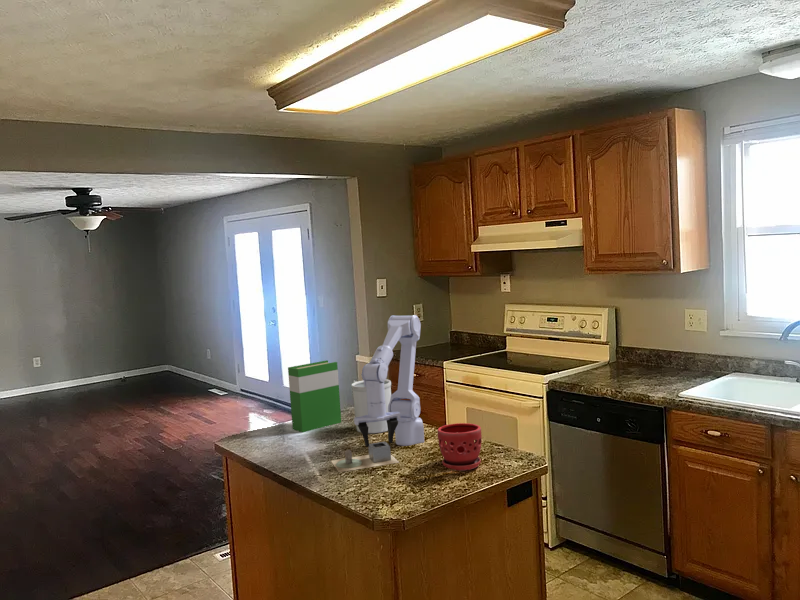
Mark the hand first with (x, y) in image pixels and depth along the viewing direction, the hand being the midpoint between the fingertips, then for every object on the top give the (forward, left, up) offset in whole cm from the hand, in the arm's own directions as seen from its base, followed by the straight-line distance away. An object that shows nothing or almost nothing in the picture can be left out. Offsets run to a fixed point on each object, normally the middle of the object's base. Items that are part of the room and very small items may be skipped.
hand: (378, 444), depth 209 cm
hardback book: (+10, -55, -6) cm, 56 cm away
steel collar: (0, 0, -5) cm, 5 cm away
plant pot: (-21, +15, -6) cm, 27 cm away
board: (+5, 0, -6) cm, 8 cm away
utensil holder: (-9, -39, -6) cm, 40 cm away
